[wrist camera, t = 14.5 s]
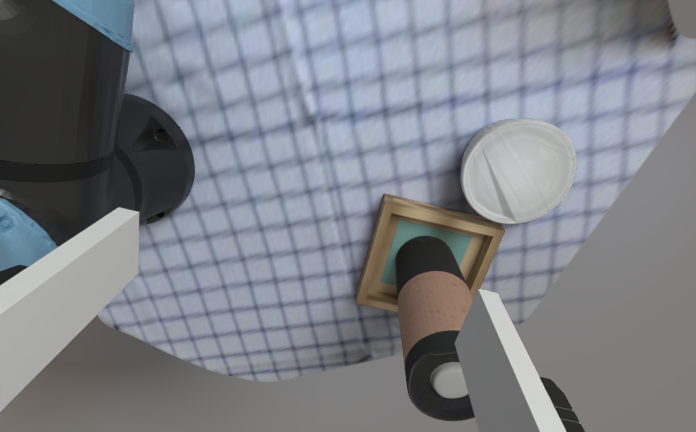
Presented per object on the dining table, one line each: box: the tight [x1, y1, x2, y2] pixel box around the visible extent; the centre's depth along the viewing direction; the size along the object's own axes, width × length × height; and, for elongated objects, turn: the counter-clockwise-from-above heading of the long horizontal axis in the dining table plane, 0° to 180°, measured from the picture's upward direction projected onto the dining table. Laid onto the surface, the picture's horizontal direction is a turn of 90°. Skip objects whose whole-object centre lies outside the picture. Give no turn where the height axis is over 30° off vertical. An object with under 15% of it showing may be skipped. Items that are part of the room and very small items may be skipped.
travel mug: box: [396, 236, 475, 421], centre depth 41 cm, size 8×8×20 cm
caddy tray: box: [356, 194, 505, 312], centre depth 49 cm, size 14×14×3 cm
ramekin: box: [460, 118, 577, 224], centre depth 43 cm, size 11×11×5 cm
